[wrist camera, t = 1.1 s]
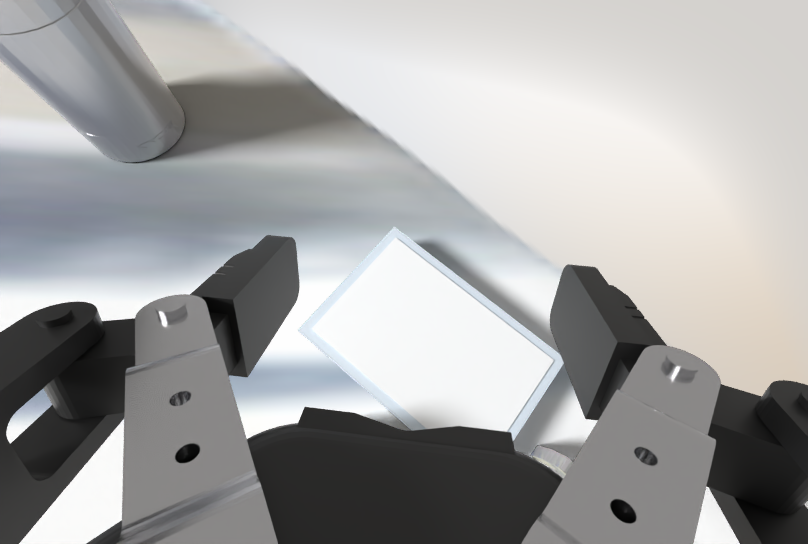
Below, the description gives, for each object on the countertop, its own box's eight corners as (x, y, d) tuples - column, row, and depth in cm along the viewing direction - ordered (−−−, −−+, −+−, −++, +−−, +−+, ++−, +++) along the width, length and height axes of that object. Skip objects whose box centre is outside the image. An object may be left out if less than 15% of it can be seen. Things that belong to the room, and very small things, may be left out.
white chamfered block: (306, 338, 34) (297, 329, 30) (393, 244, 37) (394, 225, 34) (468, 480, 31) (481, 491, 27) (546, 364, 34) (567, 358, 30)
